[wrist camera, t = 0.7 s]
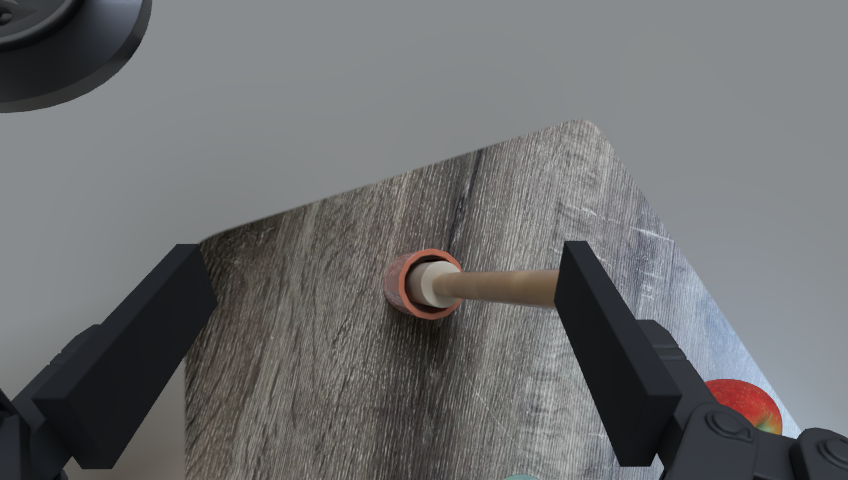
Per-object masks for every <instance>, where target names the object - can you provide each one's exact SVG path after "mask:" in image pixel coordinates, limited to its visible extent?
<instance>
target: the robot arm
mask: <svg viewBox="0 0 848 480" xmlns="http://www.w3.org/2000/svg"><path fill="white" fill-rule="evenodd" d="M83 1H84V0H0V52H3V51H10V50H15V49H19V48H23V47H27V46H30V45H32V44H35V43H38V42H40V41H42V40H44V39H46V38H48V37H50V36H51V35H53V34H55V33H56V32H58V31H59V30H60V29H62V28H63V27H64V26H65V25H66V24H67V23H68V22H69V21H70V20H71V19H72V18H73V17H74V16H75V14H76V13H77V12H78V10H79V9H80V7H81V6H82V4H83ZM553 302H554V304H555V307H556V309H557V311H558V314H559V316H560V319H561V321H562V324H563V326H564V329H565V331H566V334H567V336H568V339H569V341H570V344H571V346H572V348H573V351H574V353H575V356H576V358H577V361H578V363H579V366H580V368H581V371H582V373H583V376H584V378H585V381H586V383H587V386H588V388H589V390H590V393H591V395H592V398H593V400H594V403H595V405H596V408H597V410H598V413H599V415H600V418H601V420H602V423H603V425H604V427H605V430H606V432H607V435H608V437H609V440H610V442H611V445H612V447H613V450H614V452H615V455H616V457H617V460H618V462H619V464H620V467H650V466H651V464H652V462H653V459H654V457H655V455H656V453H657V454H658V456H659V458H660V460H661V462H662V464H663V466H664V470H663V472H662V474H661V476H660V478H659V480H848V438H846V437H845V436H842V435H840V434H838V433H835V432H833V431H830V430H826V429H821V428H809V429H805V430H804V431H803V432H802V433H801V434H800V435H799V436H798V438H797V439H793V438H789V437H786V436H782V435H778V434H774V433H770V432H766V431H762V430H759V429H756V428H754V426H753V424H752V423H751V422H750V421H749V420H748V419H746V418H745V417H744V416H743V415H742V414H741V413H739V412H737V411H736V410H734V409H732V408H731V407H728V406H725V405H722V404H719V402H718V401H717V400H716V398H715V397H714V395H713V394H712V393H711V391H710V390H709V388H708V387H707V385H706V384H705V383H704V381H703V380H702V378H701V377H700V376H699V374H698V373H697V371H696V370H695V368H694V367H693V366H692V364H691V363H690V361H689V360H687V359H686V356H685V354H684V353H683V351H682V350H681V348H679V347H678V344H677V343H676V341H675V340H674V338H673V337H672V336H671V334H670V333H669V331H667V330H666V329H665V328H663V327H662V326H661V325H660V324H658V323H657V322H656V321H654V320H636V319H635V318H634V316H633V314H632V313H631V311H630V310H629V308H628V306H627V305H626V303H625V302H624V300H623V299H622V297H621V295H620V294H619V292H618V291H617V289H616V287H615V286H614V284H613V283H612V281H611V279H610V278H609V276H608V275H607V273H606V271H605V270H604V268H603V267H602V265H601V263H600V262H599V260H598V259H597V257H596V256H595V254H594V252H593V251H592V249H591V248H590V246H589V244H588V243H587V241H565V242H564V248H563V253H562V258H561V264H560V269H559V274H558V280H557V285H556V290H555V296H554V301H553ZM217 305H218V302H217V299H216V296H215V293H214V290H213V287H212V284H211V281H210V278H209V275H208V272H207V269H206V266H205V263H204V260H203V257H202V254H201V251H200V248H199V245H198V244H177V245H176V246H175V247H174V248H173V249H172V250H171V251H170V252H169V253H168V254H167V255H166V256H165V257H164V258H163V259H162V260H161V262H160V263H159V264H158V265H157V266H156V267H155V268H154V269H153V270H152V271H151V272H150V273H149V274H148V275H147V276H146V277H145V278H144V279H143V280H142V282H141V283H140V284H139V285H138V286H137V287H136V288H135V289H134V290H133V291H132V292H131V293H130V294H129V295H128V296H127V297H126V298H125V299H124V300H123V302H122V303H121V304H120V305H119V306H118V307H117V308H116V309H115V310H114V311H113V312H112V313H111V314H110V315H109V316H108V317H107V318H106V319H105V321H104V322H103V323H102V324H100V325H98V324H97V325H92V326H91V327H89V328H88V329H86V330H85V331H83V332H82V333H80V334H79V335H77V336H75V337H74V339H72V340H71V341H70V342H69V343H68V344H67V345H66V346H65V347H64V348H63V349H62V351H61V353H59V354H58V355H56V356H55V358H54V359H53V360H52V361H51V362H50V365H47V366H46V367H45V368H44V369H43V370H42V371H41V372H40V373H39V374H38V375H37V376H36V377H35V378H34V379H33V380H32V381H31V382H30V383H29V384H28V385H27V386H26V387H25V388H24V389H23V390H22V391H21V392H20V393H19V394H18V395H17V396H16V397H15V398H14V399H13V400H12V401H10V400H9V399H8V398H7V396H6V395H5V394H4V392H3V391H2V390H1V388H0V480H68V477H67V475H66V473H65V471H64V470H63V467H64V466H65V465H66V463H67V462H68V461H69V459H70V458H71V457H72V456H73V457H74V459H75V460H76V461H77V463H78V464H79V465H80V467H81V468H82V469H112V468H113V466H114V465H115V463H116V462H117V460H118V459H119V457H120V456H121V454H122V452H123V451H124V449H125V448H126V446H127V445H128V443H129V442H130V440H131V438H132V437H133V435H134V434H135V432H136V431H137V429H138V428H139V426H140V424H141V423H142V421H143V420H144V418H145V417H146V415H147V414H148V412H149V410H150V409H151V407H152V406H153V404H154V403H155V401H156V400H157V398H158V397H159V395H160V393H161V392H162V390H163V389H164V387H165V386H166V384H167V383H168V381H169V379H170V378H171V376H172V375H173V373H174V372H175V370H176V369H177V367H178V365H179V364H180V362H181V361H182V359H183V358H184V356H185V355H186V353H187V351H188V350H189V348H190V347H191V345H192V344H193V342H194V341H195V339H196V338H197V336H198V334H199V333H200V331H201V330H202V328H203V327H204V325H205V324H206V322H207V320H208V319H209V317H210V316H211V314H212V313H213V311H214V310H215V308H216V306H217Z"/></svg>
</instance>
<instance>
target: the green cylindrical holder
mask: <svg viewBox="0 0 848 480" xmlns="http://www.w3.org/2000/svg"><path fill="white" fill-rule="evenodd" d="M503 480H538V479H536V478H535V477H533V476H530V475H526V474H517V475H512V476H509V477H507V478H505V479H503Z"/></svg>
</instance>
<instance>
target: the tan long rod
mask: <svg viewBox="0 0 848 480" xmlns="http://www.w3.org/2000/svg"><path fill="white" fill-rule="evenodd" d="M558 274H559V269H554V270H520V271H487V272H460V270H459V269H458V268H457V267H456V266H455V265H453V264H452V263H449V262H445V261H439V262H430V263H420V264H411V265H410V267H409V269H408V271H407V273H406V275H405V283H404V291H405V293H406V295H407V297H408V300H409V302H413V303H419V304H424V305H429V306H434V307H439V308H446V307H449V306H452V305H453V304H455V303H456V302H457V301H458V300H459V299H460V298H462V299H470V300H478V301H486V302H495V303H503V304H511V305H519V306H528V307H536V308H544V309H552V310H557V309H556V307H555V304H554V302H553V301H554V296H555V290H556V285H557V280H558Z"/></svg>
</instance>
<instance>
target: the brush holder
mask: <svg viewBox="0 0 848 480" xmlns="http://www.w3.org/2000/svg"><path fill="white" fill-rule="evenodd" d="M439 261H445V262H449V263H452V264H453V265H455V266H456V267H457V268H458V269H459V270H460V272H462V269H461V267H460V265H459V263H458V262H457V261H456V260H455V259H454V258H453V257H452V256H451V255H450V254H448V253H447V252H444V251H441V250H437V249H427V250H422V251H417V252H412V253H407V254H402V255H400V256H399V257H397V258H396V259H394V260H393V261H392V262H391V263H390V265H389V266H388V268H387V269H386V272H385V275H384V279H383V288H384V292H385V295H386V297H387V299H388V301H389V302H390V303H391V305H392V306H393V307H395V308H396V309H398V310H399V311H401V312H403V313H406V314H410V315H413V316H416V317H420V318H425V319H429V320H435V319H438V318H442V317H446V316H448V315H449V314H450V313H451V312H452V311H453V310H455V309H456V308H457V307H458V306H459V303H460V301H461V299H462V298H460V299H459V300H458V301H457V302H456V303H455V304H453V305H452V306H449V307H446V308H439V307H434V306H429V305H424V304H419V303H413V302H409V300H408V297H407V295H406V293H405V291H404V283H405V275H406V273H407V271H408V269H409V267H410V265H411V264H420V263H430V262H439Z"/></svg>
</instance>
